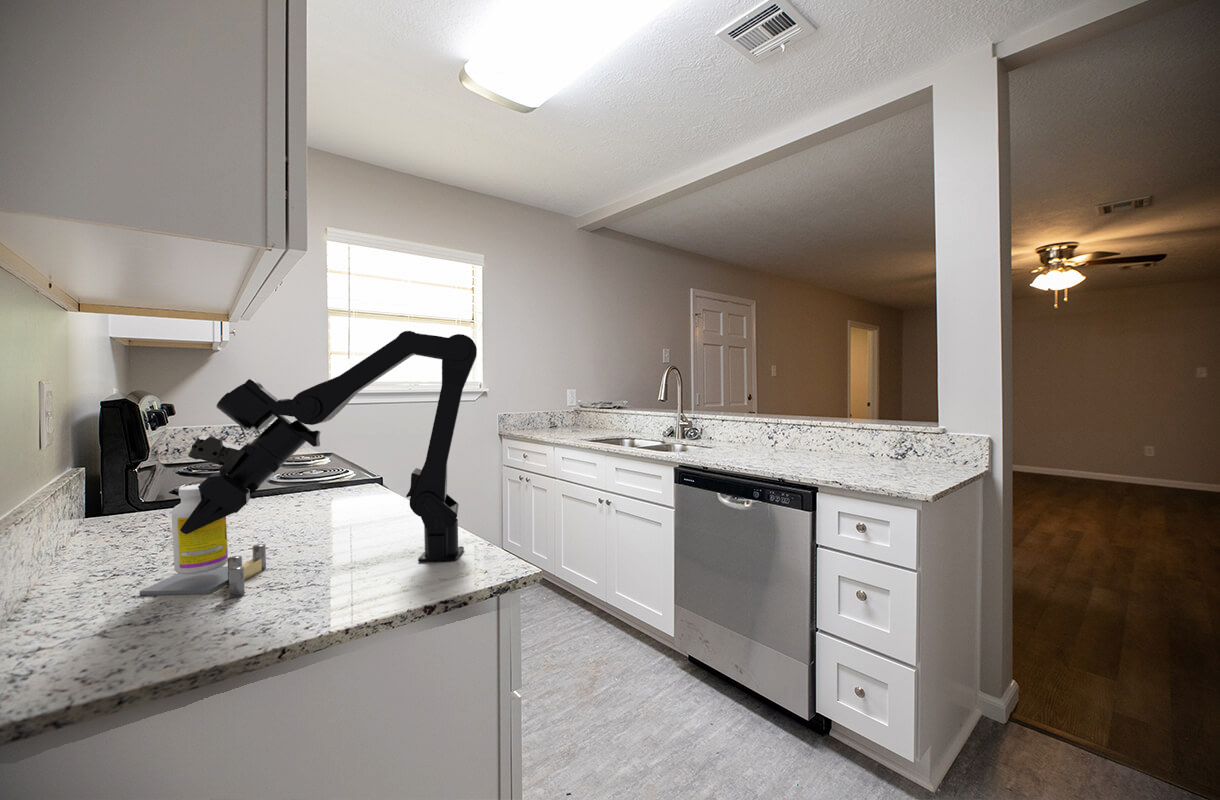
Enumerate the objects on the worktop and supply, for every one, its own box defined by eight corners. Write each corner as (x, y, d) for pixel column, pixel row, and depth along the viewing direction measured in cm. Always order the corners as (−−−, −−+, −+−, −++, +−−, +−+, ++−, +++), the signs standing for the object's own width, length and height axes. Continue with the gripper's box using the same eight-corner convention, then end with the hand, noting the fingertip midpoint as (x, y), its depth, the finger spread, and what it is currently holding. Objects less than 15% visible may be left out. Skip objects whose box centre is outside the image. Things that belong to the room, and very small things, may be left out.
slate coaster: (191, 570, 86) (191, 567, 86) (253, 569, 87) (253, 565, 87) (139, 595, 76) (139, 591, 76) (210, 593, 77) (210, 589, 77)
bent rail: (257, 567, 88) (256, 543, 88) (289, 566, 88) (289, 543, 88) (201, 598, 75) (200, 571, 75) (239, 597, 75) (238, 570, 75)
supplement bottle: (236, 565, 83) (232, 484, 82) (185, 579, 77) (180, 493, 76) (217, 557, 86) (213, 480, 86) (167, 570, 81) (162, 488, 80)
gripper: (236, 414, 91) (158, 484, 86) (214, 420, 74) (115, 507, 70) (291, 455, 95) (218, 524, 90) (281, 470, 78) (192, 555, 74)
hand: (188, 526), depth 81 cm, fingers closed on supplement bottle, 7 cm apart
